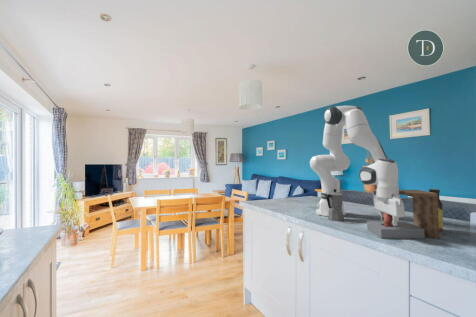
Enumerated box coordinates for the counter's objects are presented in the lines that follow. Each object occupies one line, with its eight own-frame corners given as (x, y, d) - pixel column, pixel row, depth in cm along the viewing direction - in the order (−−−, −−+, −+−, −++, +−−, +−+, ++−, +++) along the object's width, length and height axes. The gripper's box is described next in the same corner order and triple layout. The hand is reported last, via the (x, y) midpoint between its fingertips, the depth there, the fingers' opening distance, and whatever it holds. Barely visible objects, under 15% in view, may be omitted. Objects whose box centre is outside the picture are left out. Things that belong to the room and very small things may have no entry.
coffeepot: (334, 216, 152) (333, 187, 153) (349, 218, 145) (348, 188, 145) (320, 220, 142) (319, 189, 143) (335, 223, 135) (334, 191, 136)
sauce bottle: (423, 229, 119) (421, 188, 120) (431, 227, 122) (429, 187, 122) (438, 232, 113) (436, 190, 114) (446, 230, 115) (444, 189, 116)
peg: (391, 232, 115) (390, 211, 116) (396, 235, 111) (395, 213, 112) (382, 232, 116) (381, 211, 116) (386, 235, 112) (386, 213, 112)
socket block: (367, 229, 121) (366, 221, 121) (405, 229, 119) (405, 221, 120) (381, 238, 107) (380, 229, 107) (424, 238, 106) (424, 229, 106)
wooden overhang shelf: (396, 229, 120) (395, 190, 120) (418, 229, 119) (416, 189, 119) (414, 238, 106) (412, 193, 106) (439, 238, 105) (437, 193, 105)
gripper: (408, 196, 103) (409, 228, 103) (383, 190, 124) (384, 217, 123) (392, 196, 104) (394, 228, 104) (370, 190, 124) (372, 218, 124)
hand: (388, 222), depth 114 cm, fingers open, 8 cm apart
